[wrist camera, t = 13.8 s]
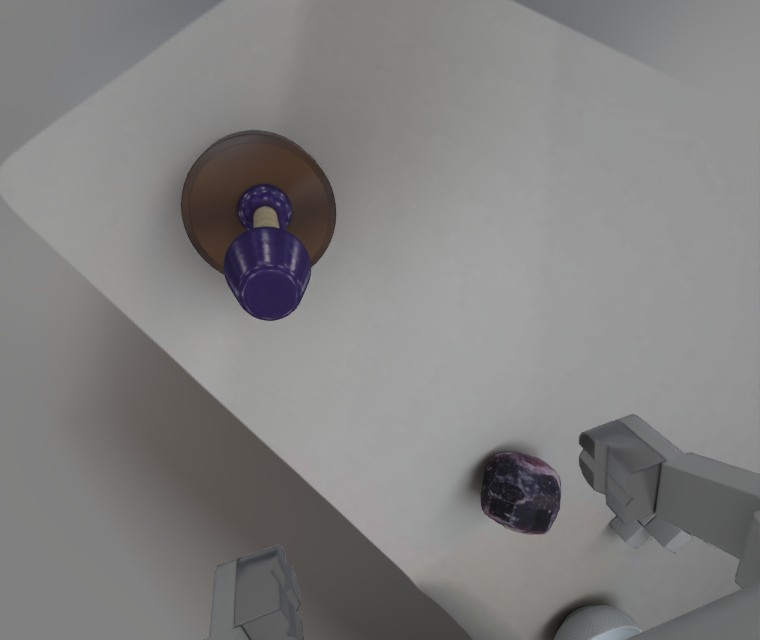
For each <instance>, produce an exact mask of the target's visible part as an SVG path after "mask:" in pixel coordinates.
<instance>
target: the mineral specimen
mask: <svg viewBox="0 0 760 640" xmlns="http://www.w3.org/2000/svg"><path fill="white" fill-rule="evenodd" d="M560 499H561V481H560V477H559V475H558V474H557V472H556V471H555V470H554V469H552V468H551V467H550V466H549V465H548V464H547V463H545V462H544V461H543V460H541V459H539V458H536V457H532V456H528V455H524V454H520V453H515V452H504V453H498V454H496V455H495V456H494V458H492V459H491V461H490V462H489V465H488V467H487V468H486V471H485V475H484V479H483V484H482V491H481V506H482V510H483V511H484V513H485V515H487V516H488V517H490V518H491V519H493V520H494V521H496V522H497V523H499V524H501V525H503V526H504V527H505V528H507V529H509V530H512V531H515V532H519V533H522V534H527V535H534V534H545V533H547V532H548V531H549V530H550V528H551V526H552V524H553V522H554V521H555V519H556V517H557V514H558V511H559V509H560Z"/></svg>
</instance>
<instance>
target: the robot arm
mask: <svg viewBox="0 0 760 640" xmlns="http://www.w3.org/2000/svg"><path fill="white" fill-rule="evenodd" d="M579 444H580V445H581V446H582V448H583V450H582V452H581V453H580V455H579V466H580V468H581V471H582V474H583V476H584V477H585V479H586V481H587V482H588V484H589V485H590V486H591V487H592V488H593V489H594V490H595V491H597V492H599V493H602V494H604V495H606V504H607V505H608V507H609V508H610V509H611V510H612V511H613V512H614V513H615V514H616V516H617V517H618V518H619V519H620V520H621V521H622V522H623V523H624V525H625V524H628V523H630V522H633V521H636V520H639V519H641V518H644V517H647V516H650V515H652V514H655V516H657V517H659V518H661V519H663V520H665V521H667V522H669V523H671V524H673V525H675V526H677V527H678V528H680V529H682V530H684V531H686V532H688V533H690V534H692V535H694V536H696V537H698V538H700V539H702V540H704V541H706V542H708V543H710V544H712V545H714V546H715V547H717V548H719V549H721V550H723V551H725V552H727V553H729V554H731V555H733V556H735V557H737V558H739V559H740V561H739V565H738V568H737V572H736V575H735V582H736V583H737V584H738V585H739V586H740V587H741V588H742V589H741V590H738V591H736V592H734V593H731V594H729V595H727V596H724V597H722V598H720V599H718V600H715V601H713V602H711V603H708V604H706V605H704V606H702V607H699V608H697V609H695V610H692V611H690V612H688V613H685V614H683V615H681V616H679V617H676V618H674V619H672V620H669V621H667V622H665V623H663V624H660V625H658V626H656V627H653V628H651V629H649V630H646V631H644V632H642V633H640V634H637V635H635V636H633V637H630V638H628V639H626V640H760V474H758V473H755V472H752V471H748V470H745V469H742V468H739V467H736V466H732V465H729V464H726V463H723V462H720V461H717V460H713V459H710V458H707V457H704V456H701V455H697V454H694V453H691V452H690V453H687V454H685V453H683V452H682V451H681V450H680V449H678V448H677V447H676V446H675V445H673V444H672V443H671V442H670V441H668V440H667V439H666V438H665V437H663V436H662V435H661V434H660V433H659V432H657V431H656V430H655V429H654V428H652V427H651V426H650V425H649V424H647V423H646V422H645V421H644V420H642V419H641V418H640V417H639V416H637V415H634V414H631V415H628V416H626V417H623V418H620V419H617V420H615V421H611V422H608V423H606V424H603V425H600V426H598V427H595V428H593V429H590V430H587V431H585V432H582V433H581V434H580V436H579ZM299 606H300V594H299V588H298V583H297V579H296V576H295V573H294V570H293V568H292V566H291V564H290V563H287V562H286V560H285V552H284V550H283V548H282V546H281V545H276V546H273V547H271V548H268V549H265V550H262V551H259V552H256V553H253V554H250V555H247V556H244V557H241V558H238V559H235V560H232V561H230V562H227V563H224V564H221V565H218V566H217V569H216V571H215V576H214V588H213V600H212V611H211V623H210V634H209V638H207V639H205V640H304V636H303V625H302V621H301V619H300V618H299V615H298V613H297V610H298V608H299Z"/></svg>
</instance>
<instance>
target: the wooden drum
mask: <svg viewBox="0 0 760 640" xmlns="http://www.w3.org/2000/svg"><path fill="white" fill-rule="evenodd" d="M257 184H269V185H273V186H275V187H277V188H279V189H280V190H282V191H283V192H284V193H285V194H286V195H287V196H288V198H289V200H290V202H291V205H292V211H293V212H292V219H291V222H290V224H289V226H288V227H287V229H286V231H288V232H290V233H291V234H293V235H294V236H295V237H297V238H298V239H299V240H300V241H301V242H302V244H303V245H304V246H305V248H306V250H307V252H308V254H309V257H310V262H311V267H312V266H313V265H314V264H316V263H317V261H318V260H319V259H320V258H321V257H322V255H323V254H324V252H325V251H326V249H327V248H328V245H329V243H330V241H331V239H332V236H333V233H334V228H335V223H336V204H335V199H334V194H333V191H332V188H331V185H330V183H329V181H328V179H327V177H326V175H325V174H324V172H323V170H322V169H321V167H320V166H319V165H318V164H317V163H316V161H315V160H314V159H313V158H312V157H311V156H310V155H309V154H307V153H306V152H305V151H304V150H303V149H302V148H301V147H300V146H298V145H297V144H296V143H294V142H293V141H291V140H289V139H287V138H285V137H283V136H280V135H278V134H275V133H271V132H267V131H258V130H250V131H242V132H236V133H233V134H230V135H228V136H226V137H224V138H222V139H220V140H218V141H217V142H215V143H214V144H212V145H211V146H210V147H209V148H208V149H207V150H206V151H205V152H204V153H203V154H202V155H201V156H200V157H199V158H198V160H197V161H196V162H195V163H194V165H193V166H192V168H191V170H190V171H189V173H188V175H187V178H186V180H185V183H184V187H183V191H182V198H181V211H182V218H183V223H184V227H185V230H186V232H187V235H188V237H189V239H190V241H191V243H192V245H193V246H194V248H195V249H196V250H197V252H198V253H199V254H200V255H201V257H202V258H203V259H204V260H205V261H206V262H207V263H208V264H210V265H211V266H212V267H213V268H215V269H216V270H218V271H219V272H220V273H222V274H224V259H225V255H226V252H227V250H228V248H229V246H230V244H231V243H232V242H233V241H234V240H235V239H236V237H237V236H239V235H240V234H242V233H243V232H245V231H247V230H246V229H245V228H244V227H243V225H242V224H241V222H240V219H239V217H238V211H237V207H238V202H239V199H240V197H241V196H242V194H243V193H244V192H245V191H246V190H248V189H249V188H250V187H252V186H255V185H257ZM224 275H225V274H224Z"/></svg>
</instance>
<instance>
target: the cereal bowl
mask: <svg viewBox="0 0 760 640" xmlns="http://www.w3.org/2000/svg"><path fill="white" fill-rule="evenodd" d="M640 633H642V631H641V629H640V628H639V626H638V625H637V624H636V622H635V621H634V620H633V619H632V618H631V617H630V616H629V615H628V614H627V613H626V612H625V611H623V610H621V609H619V608H617V607H613V606H609V605H598V606H594V605H588V606H583V607H581V608H578V609H577V610H575V611H573V612H572V613H571V614H569V615H568V616H567V617H566V619H565V620H564V622H563V624H562V625H561V627H560V628H559V630H558V632H557V633H556V635H555V638H554V640H626V639H628V638H630V637H633V636H635V635H637V634H640Z"/></svg>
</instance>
